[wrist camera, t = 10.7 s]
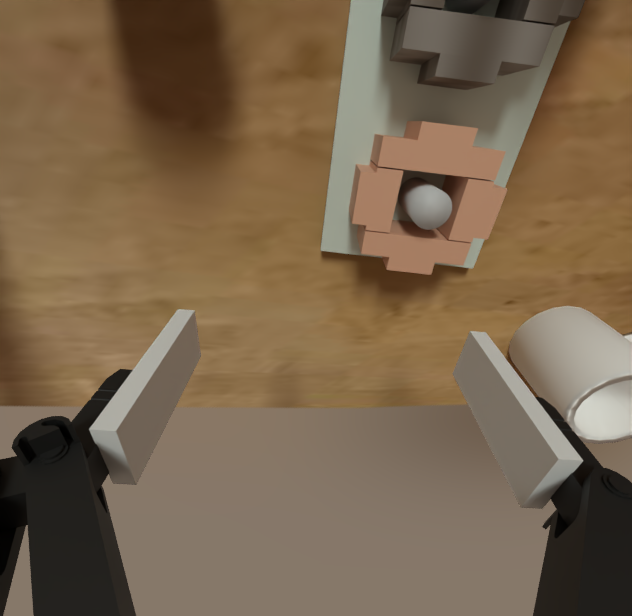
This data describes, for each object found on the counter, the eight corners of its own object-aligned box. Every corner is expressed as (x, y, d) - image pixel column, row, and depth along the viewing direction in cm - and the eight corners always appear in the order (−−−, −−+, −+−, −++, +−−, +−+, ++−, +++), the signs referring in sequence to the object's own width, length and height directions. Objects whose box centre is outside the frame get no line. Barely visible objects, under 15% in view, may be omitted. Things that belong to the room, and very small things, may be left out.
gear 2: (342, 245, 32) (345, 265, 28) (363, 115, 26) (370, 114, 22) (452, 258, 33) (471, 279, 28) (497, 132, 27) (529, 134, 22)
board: (320, 245, 34) (318, 275, 27) (370, -160, 20) (389, -292, 14) (467, 262, 34) (499, 295, 28) (614, -123, 21) (745, -235, 14)
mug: (635, 286, 35) (744, 345, 26) (625, 355, 40) (714, 425, 31) (505, 320, 38) (562, 383, 29) (511, 380, 43) (560, 451, 33)
